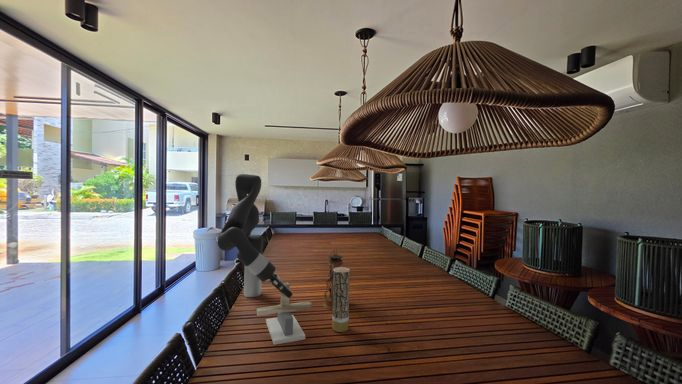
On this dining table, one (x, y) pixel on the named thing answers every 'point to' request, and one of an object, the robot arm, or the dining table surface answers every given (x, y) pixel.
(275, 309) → the birch T-bar
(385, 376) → the dining table surface
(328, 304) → the lantern
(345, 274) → the bark print canister
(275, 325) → the ridge stand
